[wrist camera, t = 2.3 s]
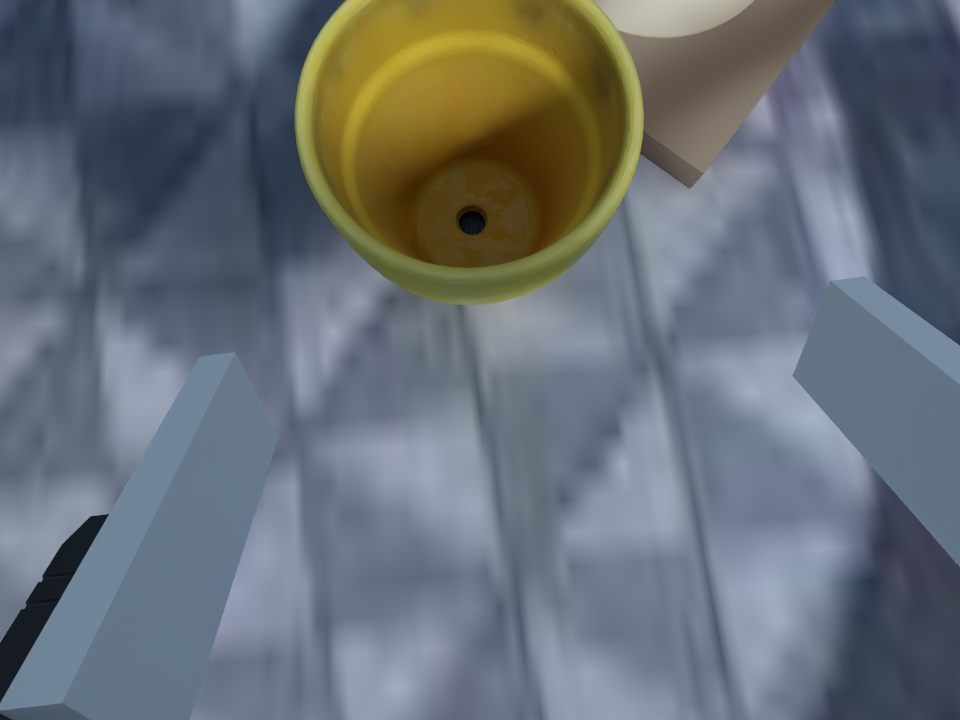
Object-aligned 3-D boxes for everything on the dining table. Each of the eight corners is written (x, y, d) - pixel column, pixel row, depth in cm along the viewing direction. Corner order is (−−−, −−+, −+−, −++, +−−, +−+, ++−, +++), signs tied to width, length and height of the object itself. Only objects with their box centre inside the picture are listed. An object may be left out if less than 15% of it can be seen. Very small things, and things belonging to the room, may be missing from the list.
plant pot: (336, 296, 24) (234, 215, 14) (408, 101, 25) (361, -98, 15) (543, 365, 23) (586, 332, 14) (608, 165, 24) (692, 2, 15)
